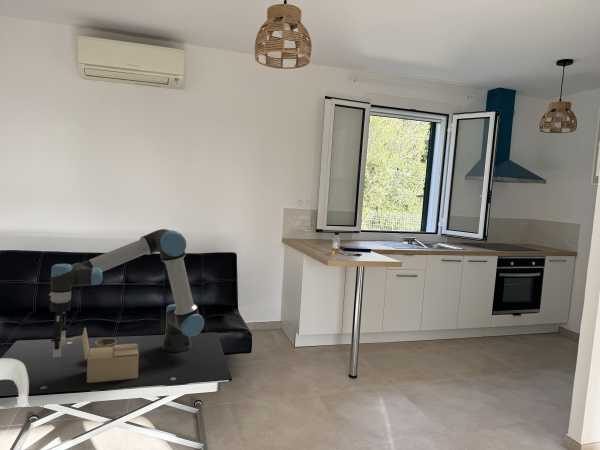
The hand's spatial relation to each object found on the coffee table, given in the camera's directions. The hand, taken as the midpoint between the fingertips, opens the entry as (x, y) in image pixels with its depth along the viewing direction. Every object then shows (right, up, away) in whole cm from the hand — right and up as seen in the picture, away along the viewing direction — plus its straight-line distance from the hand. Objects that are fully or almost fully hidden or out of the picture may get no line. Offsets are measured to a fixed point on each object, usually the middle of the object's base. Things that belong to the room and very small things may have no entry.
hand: (59, 351), depth 184 cm
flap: (+10, +3, +4) cm, 11 cm away
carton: (+19, -13, +8) cm, 24 cm away
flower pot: (+8, -11, +26) cm, 29 cm away
